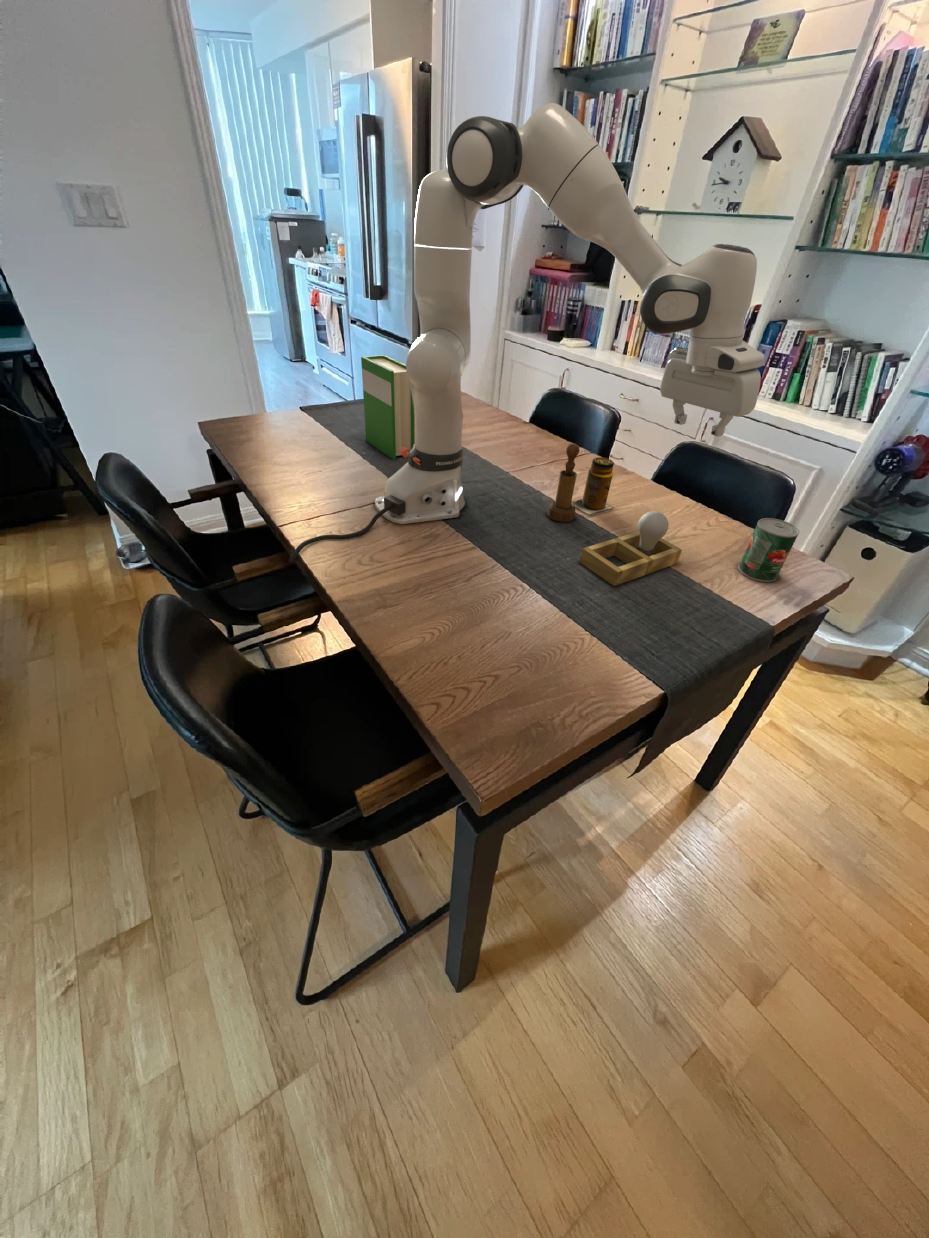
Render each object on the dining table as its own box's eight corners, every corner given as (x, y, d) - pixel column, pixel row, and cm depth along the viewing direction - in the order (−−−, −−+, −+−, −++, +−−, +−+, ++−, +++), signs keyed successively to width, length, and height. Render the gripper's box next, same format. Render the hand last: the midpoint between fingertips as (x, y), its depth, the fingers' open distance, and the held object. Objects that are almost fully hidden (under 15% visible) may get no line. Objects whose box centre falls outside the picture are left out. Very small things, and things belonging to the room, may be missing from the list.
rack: (614, 586, 107) (618, 572, 105) (579, 562, 114) (582, 548, 111) (677, 563, 116) (682, 549, 113) (641, 542, 122) (645, 528, 120)
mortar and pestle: (576, 513, 132) (590, 442, 121) (571, 524, 127) (586, 451, 116) (550, 508, 134) (562, 437, 123) (544, 519, 129) (556, 446, 118)
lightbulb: (627, 561, 115) (640, 515, 108) (631, 548, 120) (643, 503, 113) (655, 568, 114) (670, 522, 107) (658, 554, 118) (673, 510, 111)
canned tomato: (774, 586, 110) (797, 540, 104) (735, 574, 113) (755, 528, 107) (778, 570, 116) (801, 525, 109) (741, 558, 119) (760, 514, 112)
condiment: (612, 508, 136) (623, 463, 129) (588, 515, 132) (598, 469, 125) (592, 497, 141) (602, 453, 133) (568, 503, 137) (577, 458, 129)
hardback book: (415, 455, 157) (414, 368, 142) (393, 459, 153) (390, 371, 139) (387, 437, 168) (384, 354, 153) (366, 440, 165) (361, 356, 150)
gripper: (658, 347, 103) (648, 420, 111) (747, 363, 88) (728, 446, 96) (682, 343, 105) (671, 414, 113) (773, 357, 90) (752, 439, 98)
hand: (697, 429), depth 104 cm, fingers open, 8 cm apart
